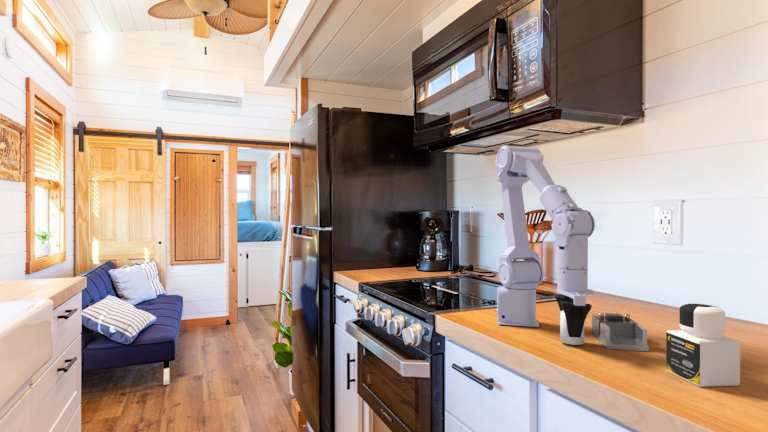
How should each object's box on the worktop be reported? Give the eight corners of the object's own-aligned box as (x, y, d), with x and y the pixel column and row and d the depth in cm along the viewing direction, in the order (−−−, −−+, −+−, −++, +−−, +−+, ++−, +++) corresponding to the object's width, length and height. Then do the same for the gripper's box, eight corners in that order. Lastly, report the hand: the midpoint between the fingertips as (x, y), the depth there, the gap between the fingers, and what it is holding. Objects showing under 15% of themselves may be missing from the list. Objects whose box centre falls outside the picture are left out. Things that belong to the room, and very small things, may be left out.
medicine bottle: (665, 371, 74) (665, 301, 74) (703, 369, 74) (704, 300, 74) (699, 387, 66) (699, 310, 66) (741, 386, 67) (741, 310, 67)
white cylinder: (562, 343, 87) (562, 309, 87) (558, 337, 92) (558, 304, 92) (586, 345, 86) (586, 310, 86) (581, 339, 91) (581, 306, 91)
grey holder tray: (606, 348, 86) (606, 322, 86) (592, 332, 98) (592, 309, 98) (648, 351, 84) (649, 325, 84) (628, 334, 96) (628, 311, 96)
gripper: (603, 273, 81) (602, 345, 81) (585, 264, 95) (584, 325, 95) (563, 272, 82) (562, 342, 82) (551, 263, 96) (551, 323, 97)
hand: (572, 333), depth 89 cm, fingers closed on white cylinder, 5 cm apart
